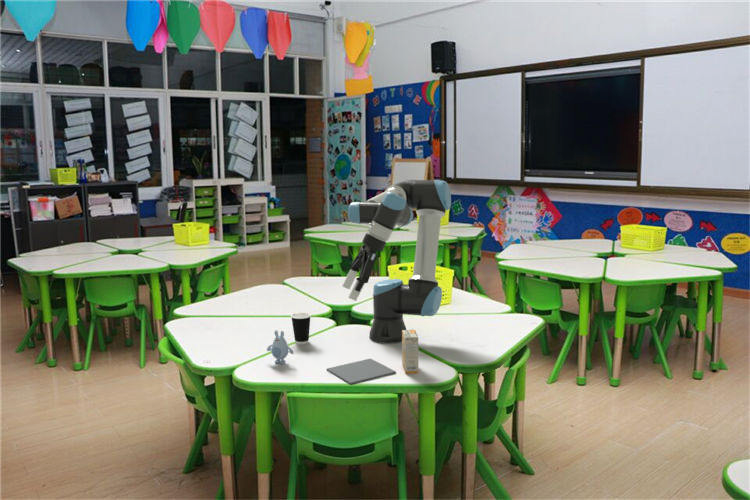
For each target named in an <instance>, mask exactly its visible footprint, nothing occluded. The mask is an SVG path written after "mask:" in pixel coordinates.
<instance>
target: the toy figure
mask: <svg viewBox="0 0 750 500" xmlns="http://www.w3.org/2000/svg"><path fill="white" fill-rule="evenodd" d="M273 334H274V335H275V338H274V339H273V342H272V344H270V345H269V346H268V347H266V351H267V352H271V354H272V357H273V358H275V360H274V363H275V364H281V365H284V364H286V360H285V358H287V356H288V355H289V354H291V355H293V354H294V350H293V348H292V347H290V346H289V345H288V342H287V340H286V339H285V337H284V336H285V332H284V331H283V330H281V331H280V335H279V330H278V329H277V330H275V331H274V333H273Z"/></svg>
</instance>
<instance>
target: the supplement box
mask: <svg viewBox="0 0 750 500" xmlns="http://www.w3.org/2000/svg"><path fill="white" fill-rule="evenodd" d="M401 344H402V345H401V349H402V350H401V352H402V353H401V357H402V358H401V359H402V360H401V361H402V362H401V363H402V364H401V365H402V368H403V371H404V373H405V374H406V375H407V374H409V375H410V374H411V373H412V374H419V335H418V333H417V331H416V330H415V329H406V330H402V342H401ZM412 374H411V375H412Z"/></svg>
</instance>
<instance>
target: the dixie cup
mask: <svg viewBox="0 0 750 500" xmlns="http://www.w3.org/2000/svg"><path fill="white" fill-rule="evenodd" d="M311 317H312V314H310V313H309V312H296V313H292V314H291V315H290V318H291V321H292V322H291V323H292V329H293V335H294V342H295V344H297V345H306V344H308V343H309V340H310V339H309V338H310V328H311V327H310V326H311Z"/></svg>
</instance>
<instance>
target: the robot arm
mask: <svg viewBox="0 0 750 500" xmlns="http://www.w3.org/2000/svg"><path fill="white" fill-rule="evenodd" d="M451 206H452V195H451V189H450V186H449V184H448V182H447V181H445V180H438V179H409V180H408V179H407V180H404V181H400V182H397V183H395V184H392V185H389V186H388V187H387V188H386V189H385V190H384V192H382V193H379V194H378V195H375V196H374V197H371V198H369V199H367V200H365V201H354V202H350V204H349V206H348V209H347V215H348V220H349V221H350V222H351V223H352V224H359V225H360V224H363V225H365V224H366V225H369V227H368V229H367V232H366V233H365V235H364V237H363V238H362V242H361V243H362V244H363V245H362V246H361V248H360V249H359V251H358V253H357V254H356V256H355V257H354V259H353V260H352V262H351V263H350V270H349V271H348V274H347V275H346V277H345V279H344V282H343V283H342V285H341V286H342V288H345V289H347V290H351V291H350V293H349V295H348V299H350V300H353V301H357V300H358V298H359V296H360V294H361V292H362V291H363V289H364V286H365V284H368V283H369V280H370V277H371V274H372V271H373V269H374V265H375V262H376V260H377V259H378V255H377V254H376V252H380V253H382V252H383V250H385V249H384V248H385V246H386V244H387V241H389V239H390V237H391V235H392V234H393V231H394V229H395V226H401V227H405V226H408V225H410V223H411V222H412V221H413V220H414V212H413V210H415V213H416V214H417V216H418V226H417V234H416V235H417V236H416V242H415V243H416V244H415V254H414V263H413V272H412V276H411V277H410V278H409V279H408V281H407V282H408V283H407V284H404V281H403V280H402V279H400V278H397V279H396V278H395V279H394V278H393V279H384V280H381V281H378V282H376V283H375V284H374V285H373V288H372V289H373V293H372V298H373V301H372V302H373V303H372V305H373V319H372V323H371V326H370V330H369V340H371V341H373V342H375V343H380V344H396V343H402V330H407V327H406V324H405V321H404V315H411V316H420V317H433V316H435V315H436V314H437V313H438V311H439V309H440V307H441V304H442V298H443V290H442V288H441V287H440V286H439V281H438V280H437V279H436V270H437V259H438V250H439V237H440V231H441V219H442V218H443V217H445V216H446V212H447V211H448V210H450V209H451ZM358 273H359V276H358V277H357V275H358ZM356 277H357V278H356ZM355 280H356V281H355ZM354 281H355V282H354ZM353 284H354V285H353ZM352 285H353V287H352ZM351 287H352V289H351Z"/></svg>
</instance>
